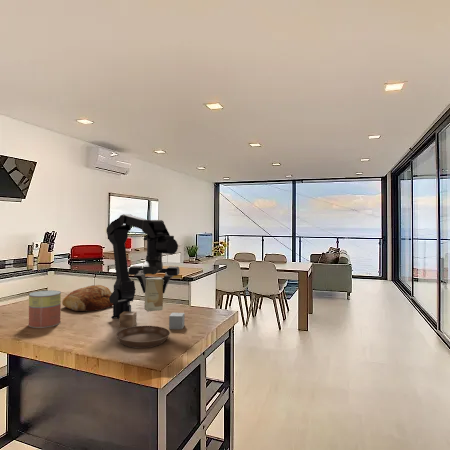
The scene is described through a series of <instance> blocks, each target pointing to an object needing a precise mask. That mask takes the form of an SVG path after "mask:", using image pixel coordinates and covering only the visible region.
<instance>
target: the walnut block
mask: <svg viewBox="0 0 450 450" xmlns="http://www.w3.org/2000/svg"><path fill="white" fill-rule="evenodd" d="M135 326H137V311H131V312H123V313H121V314H120V318H119V328H121V329H125V328H129V327H135Z"/></svg>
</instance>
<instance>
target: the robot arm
mask: <svg viewBox="0 0 450 450" xmlns="http://www.w3.org/2000/svg"><path fill="white" fill-rule="evenodd" d="M132 227H134V228H137V229H139V230H141V232H143V233H144V234H146V235H145V236H144V238H143V241H146V257H145V261H144V262H143V264H142V265H132V266H129V267H128V256H127V251H126V243H127V242H126V241H127V239H128V237H129V232H130V231H131V230H132ZM106 235H107V240H109V243H111V245H112V249H113V251H112V252H113V258H114V267H115V275H116V276H115V277H116V280H115V281H114V282H115V283H114V284H113V292H111V293H112V294H111V296H110V297H109V300H110V303H113V306H112V316H111V319H120V314H121V313H123V312H132V305H131V302H134V299H135V295H136V285H135V280H132V279H131V278H130V277H129V275H132V276H133V277H134V278H136V279H137V280H138V282H139V283H140V286H141V289H142V292H143V294H145V278H146V275H156V274H165V275H164V276H163V279H164V280H163V294H165V292H166V290H167V288H168V285H169V282H170V280H171V279H172V278H173V277H174V276H175V277H176V276H178V275H179V274H180V272H181V271H180V267H179V266H173V265H172V266H168V267H165V268H164V264H163V254H167V255H174V254H176V252H177V251H178V249H179V244H178V241H177V240H176V239H175V236H174V235H170V232H169V231H168V228H167V227H166V224H165V222H164V220H163V219H146V218H143V217H139V216H136V215H132V214H130V213H129V214H127V213H126V214H125V213H124V214H120V216H119V217H117V218H116V219H115V220H112V221H111V222H110V223H109V225H107V227H106Z"/></svg>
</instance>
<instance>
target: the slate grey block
mask: <svg viewBox="0 0 450 450" xmlns="http://www.w3.org/2000/svg"><path fill="white" fill-rule="evenodd" d="M185 318H186V317H185V312H171V313H170V314H169V316H168V330H183V328H184V327H185Z"/></svg>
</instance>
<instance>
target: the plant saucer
mask: <svg viewBox="0 0 450 450" xmlns="http://www.w3.org/2000/svg"><path fill="white" fill-rule="evenodd" d="M170 332H171V331H170V329H168V328H165V327H162V326H156V325H135V326H134V327H129V328H121V329H120V330H118V332H116V334H115V335H116V337H117V340H119V342H120V343H121V344H122V345H124V346H126V347H129V348H134V349H145V348H153V347H156V346H159V345H161V344H163V343H164V342H165V341H166V340H167V339H168V337H169V336H170V335H171V333H170Z"/></svg>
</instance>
